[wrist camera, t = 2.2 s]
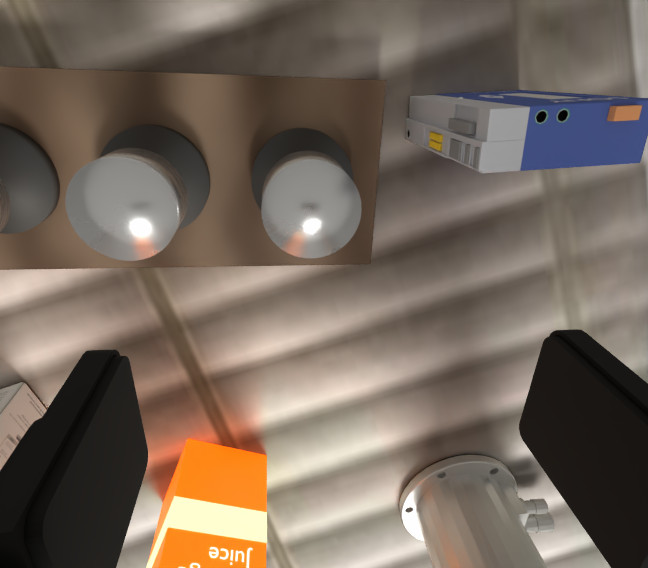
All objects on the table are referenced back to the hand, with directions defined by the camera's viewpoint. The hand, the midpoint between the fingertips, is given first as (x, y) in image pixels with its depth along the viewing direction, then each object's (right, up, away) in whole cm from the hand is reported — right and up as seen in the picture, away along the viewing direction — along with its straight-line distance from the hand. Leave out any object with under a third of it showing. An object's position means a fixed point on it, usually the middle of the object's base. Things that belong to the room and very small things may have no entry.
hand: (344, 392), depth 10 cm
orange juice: (-11, -16, +32) cm, 37 cm away
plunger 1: (-10, +7, +13) cm, 18 cm away
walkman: (+9, +14, +20) cm, 26 cm away
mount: (-11, +10, +19) cm, 24 cm away
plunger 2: (-1, +7, +14) cm, 16 cm away
